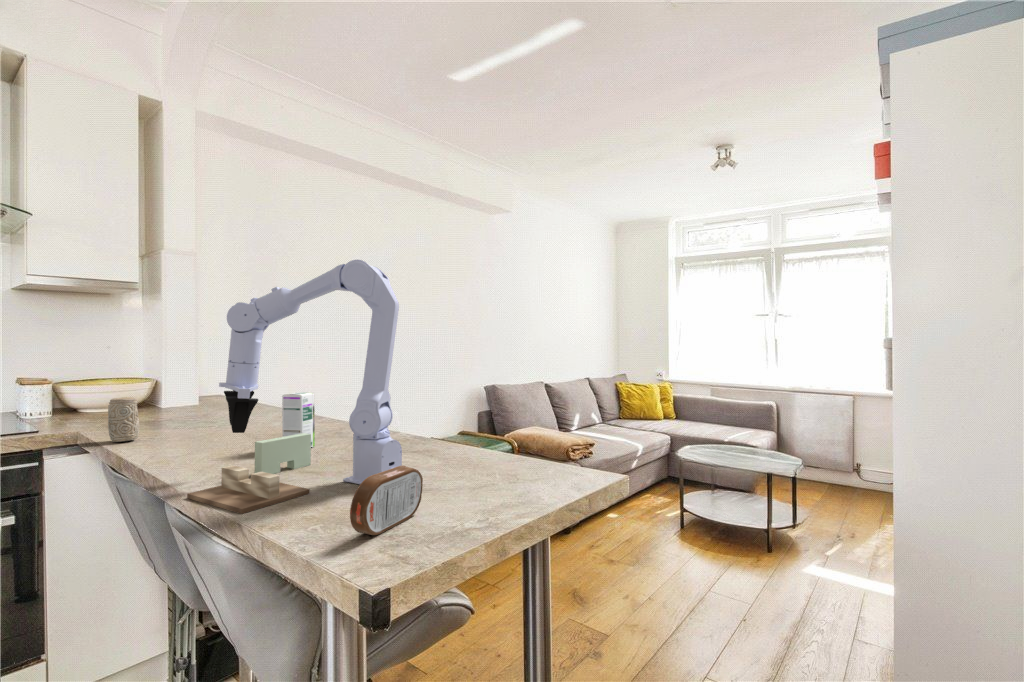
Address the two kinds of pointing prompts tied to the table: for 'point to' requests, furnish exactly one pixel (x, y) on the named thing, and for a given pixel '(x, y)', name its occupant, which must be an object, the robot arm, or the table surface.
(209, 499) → the slotted base
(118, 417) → the carving
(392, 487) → the tin
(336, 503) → the table surface
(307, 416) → the syrup box
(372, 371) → the robot arm
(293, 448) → the sage plate
